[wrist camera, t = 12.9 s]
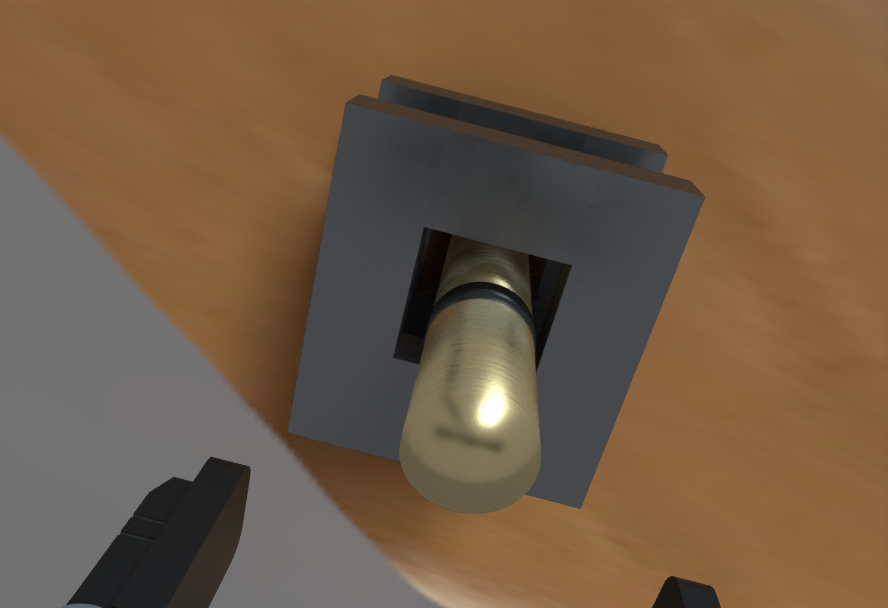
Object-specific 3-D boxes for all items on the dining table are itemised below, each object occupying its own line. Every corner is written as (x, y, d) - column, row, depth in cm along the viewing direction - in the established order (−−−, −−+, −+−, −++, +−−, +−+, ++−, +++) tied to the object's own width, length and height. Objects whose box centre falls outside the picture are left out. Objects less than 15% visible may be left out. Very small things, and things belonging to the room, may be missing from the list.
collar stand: (398, 69, 31) (345, 103, 21) (650, 135, 31) (705, 196, 21) (348, 319, 35) (287, 432, 26) (565, 375, 35) (580, 509, 26)
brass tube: (464, 179, 32) (414, 376, 16) (536, 198, 32) (562, 414, 16) (446, 247, 33) (384, 495, 17) (516, 265, 34) (520, 530, 17)
